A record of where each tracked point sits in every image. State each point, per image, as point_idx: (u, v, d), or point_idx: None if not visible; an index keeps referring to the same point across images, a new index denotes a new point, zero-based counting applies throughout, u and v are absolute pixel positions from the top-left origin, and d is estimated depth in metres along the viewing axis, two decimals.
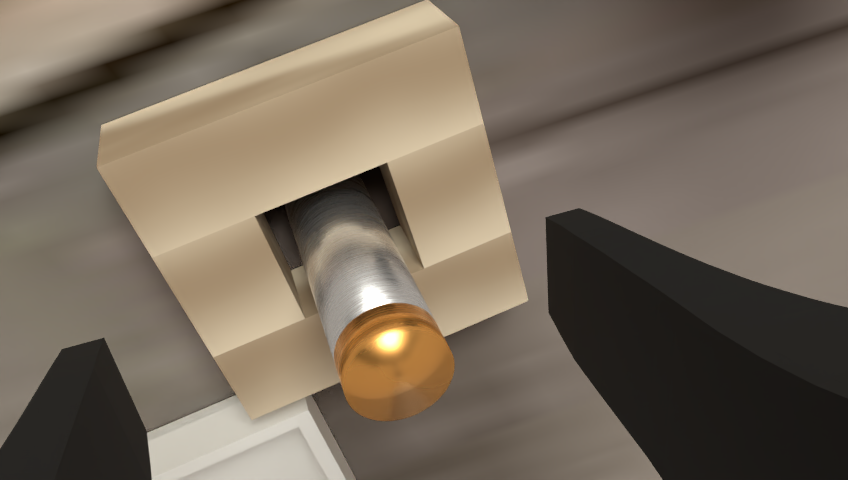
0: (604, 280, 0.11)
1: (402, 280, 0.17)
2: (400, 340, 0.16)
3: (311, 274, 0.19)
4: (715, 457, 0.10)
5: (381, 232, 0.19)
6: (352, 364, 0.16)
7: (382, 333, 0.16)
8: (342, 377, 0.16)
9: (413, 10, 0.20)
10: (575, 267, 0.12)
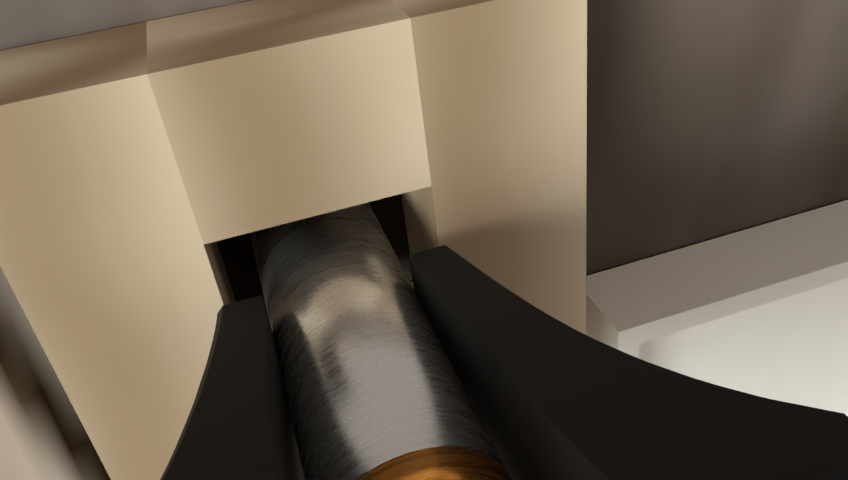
0: (451, 325, 0.11)
1: (323, 431, 0.09)
2: None
3: None
4: None
5: (299, 317, 0.11)
6: None
7: None
8: None
9: None
10: (431, 308, 0.11)
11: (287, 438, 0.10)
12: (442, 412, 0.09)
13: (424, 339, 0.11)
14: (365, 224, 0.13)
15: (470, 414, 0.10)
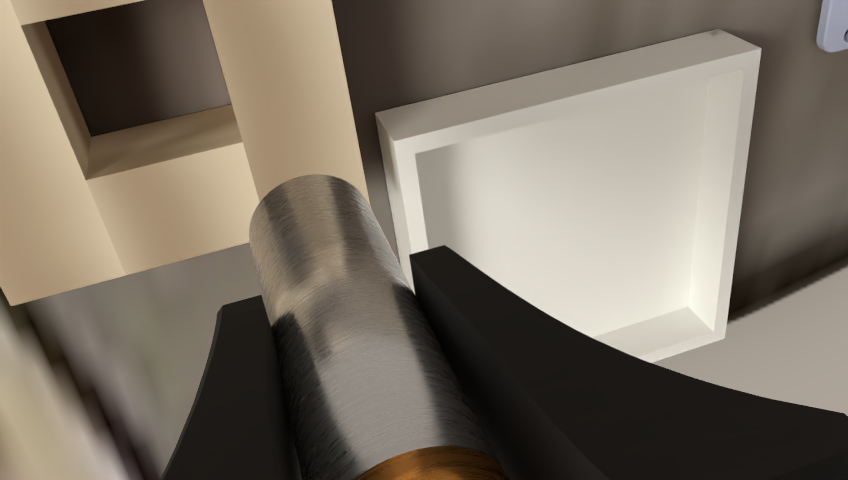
0: (451, 325, 0.11)
1: (321, 431, 0.09)
2: None
3: None
4: None
5: (296, 317, 0.11)
6: None
7: None
8: None
9: None
10: (431, 308, 0.11)
11: (287, 438, 0.10)
12: (439, 411, 0.09)
13: (422, 338, 0.11)
14: (363, 224, 0.13)
15: (467, 413, 0.10)
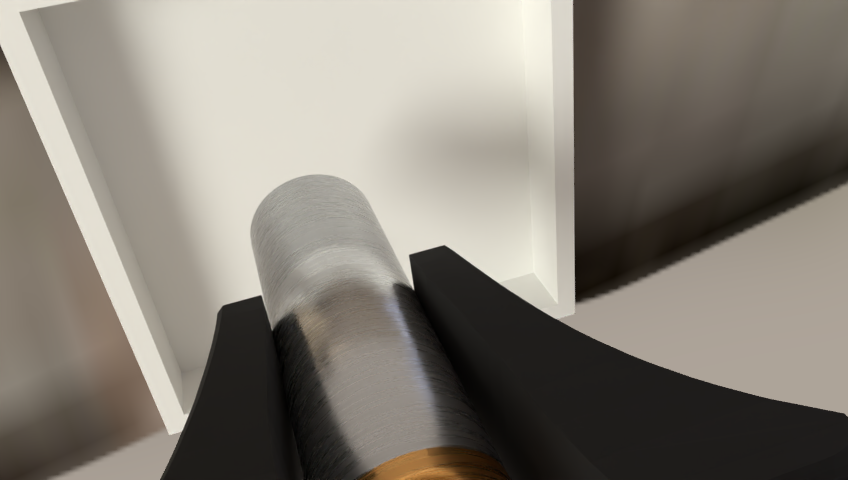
0: (451, 325, 0.11)
1: (319, 436, 0.09)
2: None
3: None
4: None
5: (295, 321, 0.11)
6: None
7: None
8: None
9: None
10: (431, 308, 0.11)
11: (287, 438, 0.10)
12: (436, 411, 0.09)
13: (420, 338, 0.11)
14: (362, 222, 0.13)
15: (466, 412, 0.10)
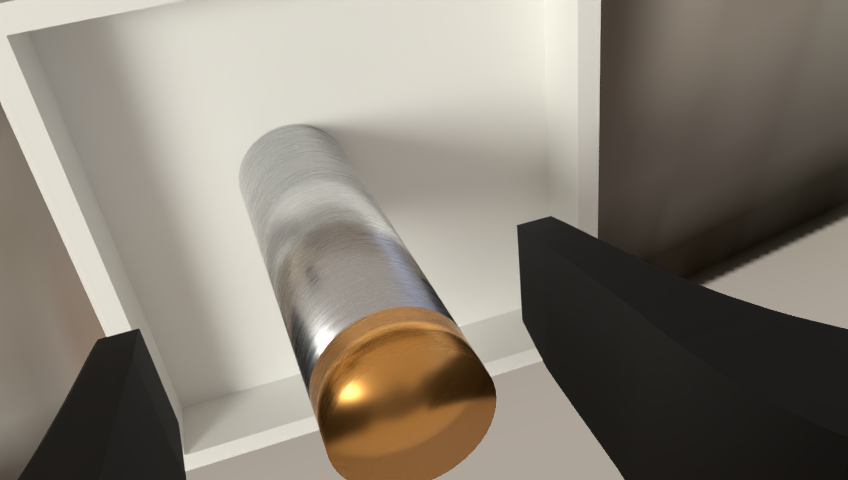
0: (572, 289, 0.11)
1: (307, 311, 0.11)
2: (342, 434, 0.10)
3: None
4: (679, 470, 0.09)
5: (282, 233, 0.13)
6: None
7: None
8: None
9: None
10: (545, 276, 0.12)
11: None
12: (403, 285, 0.11)
13: (389, 238, 0.12)
14: (337, 159, 0.15)
15: (428, 289, 0.12)
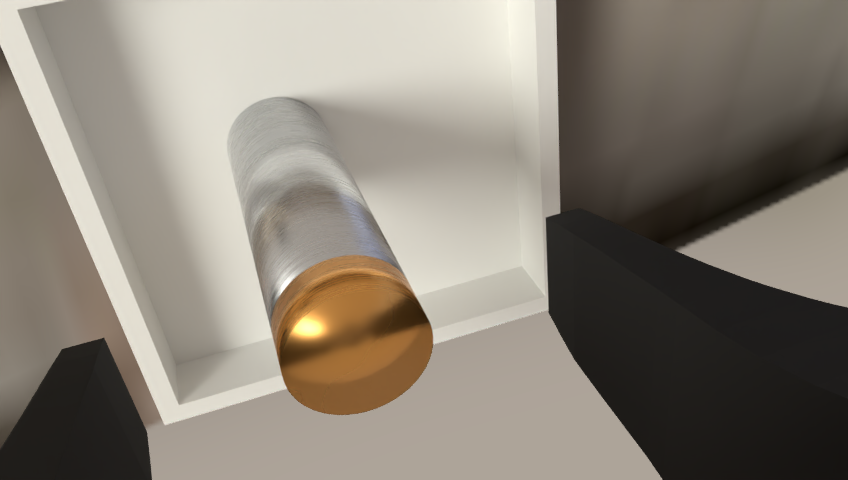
0: (604, 280, 0.11)
1: (272, 259, 0.13)
2: (295, 362, 0.12)
3: None
4: (715, 457, 0.10)
5: (258, 193, 0.15)
6: (318, 410, 0.12)
7: None
8: None
9: None
10: (575, 267, 0.12)
11: None
12: (356, 237, 0.13)
13: (351, 199, 0.14)
14: (313, 129, 0.17)
15: (380, 242, 0.13)
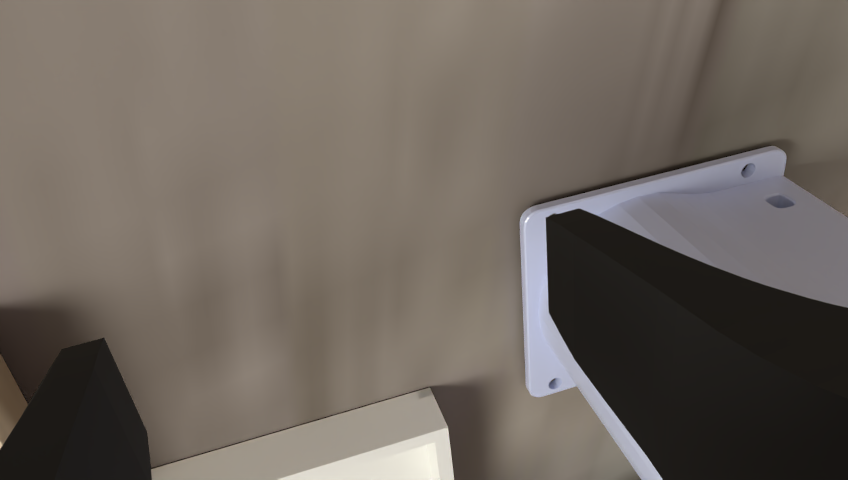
0: (604, 280, 0.11)
1: None
2: None
3: None
4: (715, 457, 0.10)
5: None
6: None
7: None
8: None
9: None
10: (575, 267, 0.12)
11: None
12: None
13: None
14: None
15: None
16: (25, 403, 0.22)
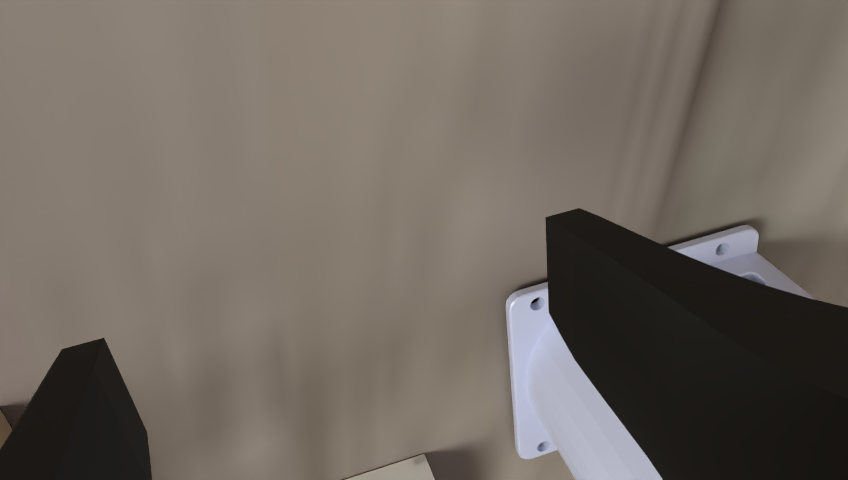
0: (604, 280, 0.11)
1: None
2: None
3: None
4: (715, 457, 0.10)
5: None
6: None
7: None
8: None
9: None
10: (575, 267, 0.12)
11: None
12: None
13: None
14: None
15: None
16: None
